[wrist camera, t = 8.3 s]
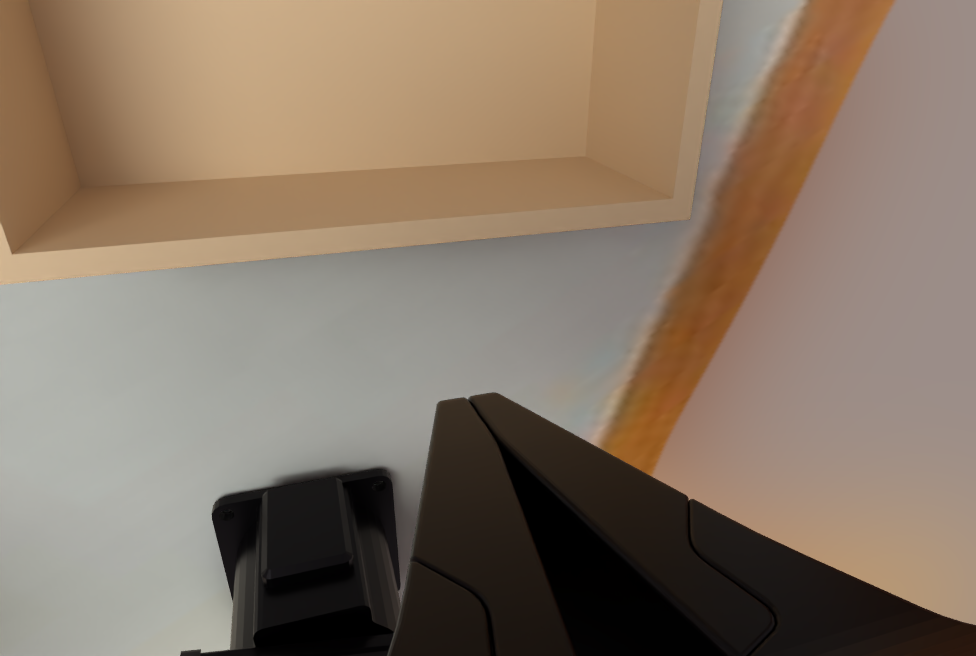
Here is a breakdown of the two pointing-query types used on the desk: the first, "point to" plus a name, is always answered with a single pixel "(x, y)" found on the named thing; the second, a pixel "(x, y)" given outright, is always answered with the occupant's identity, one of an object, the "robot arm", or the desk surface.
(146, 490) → the desk surface
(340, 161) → the mailer box
